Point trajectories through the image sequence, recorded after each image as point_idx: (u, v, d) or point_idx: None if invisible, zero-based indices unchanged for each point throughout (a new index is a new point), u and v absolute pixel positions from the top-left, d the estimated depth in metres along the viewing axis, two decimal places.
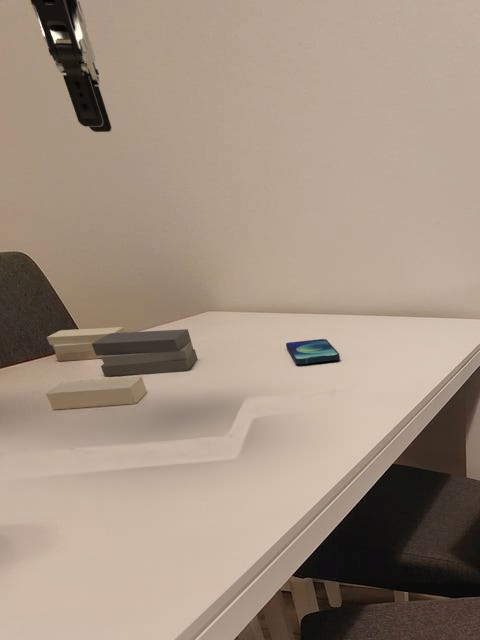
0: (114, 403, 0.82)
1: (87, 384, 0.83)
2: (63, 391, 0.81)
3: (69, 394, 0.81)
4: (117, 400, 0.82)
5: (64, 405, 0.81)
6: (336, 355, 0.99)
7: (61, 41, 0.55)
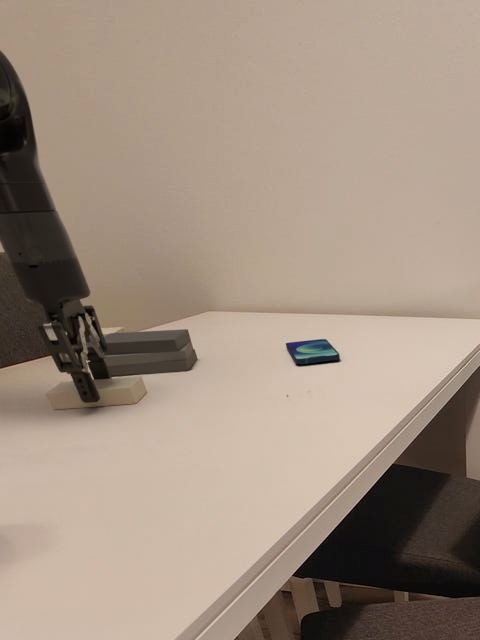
0: (114, 403, 0.82)
1: None
2: (63, 391, 0.81)
3: (69, 394, 0.81)
4: (117, 400, 0.82)
5: (64, 405, 0.81)
6: (336, 355, 0.99)
7: None
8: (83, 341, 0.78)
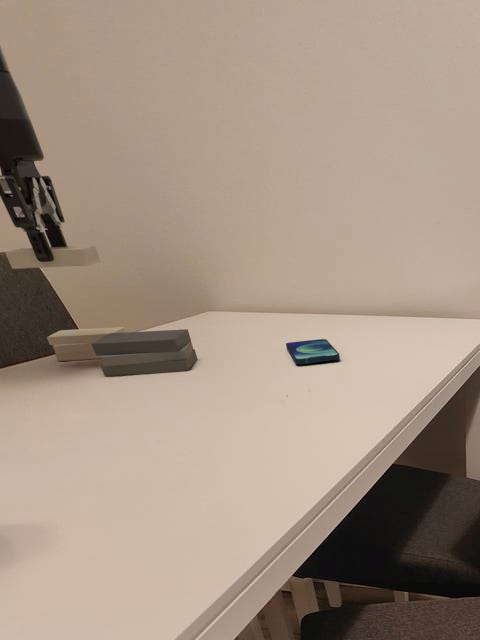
0: (67, 264, 0.91)
1: None
2: (21, 251, 0.89)
3: (26, 253, 0.89)
4: (70, 261, 0.91)
5: (22, 264, 0.90)
6: (336, 355, 0.99)
7: (20, 208, 0.85)
8: (37, 201, 0.86)
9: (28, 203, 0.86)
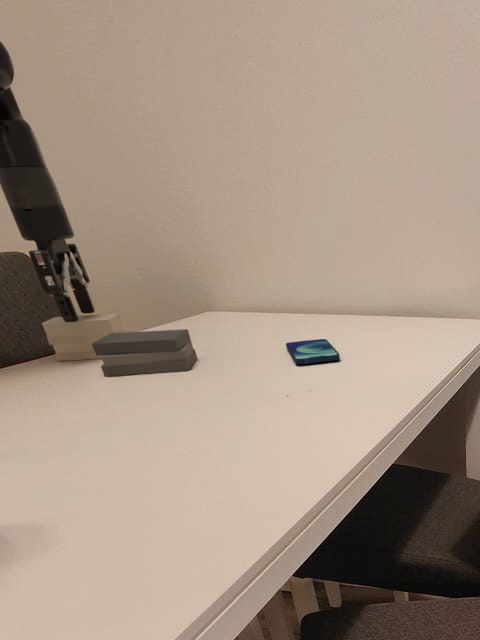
0: (96, 332, 1.03)
1: None
2: (55, 322, 1.01)
3: (60, 324, 1.01)
4: (99, 330, 1.03)
5: (56, 333, 1.02)
6: (336, 355, 0.99)
7: None
8: (68, 273, 0.98)
9: None
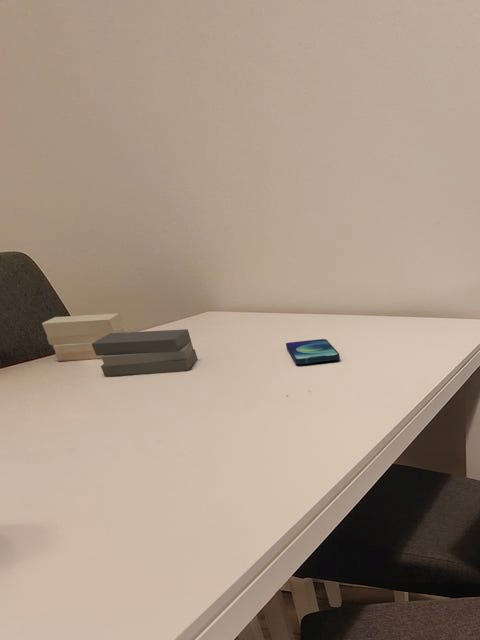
0: (96, 332, 1.03)
1: (75, 318, 1.04)
2: (55, 322, 1.01)
3: (60, 324, 1.01)
4: (99, 330, 1.03)
5: (56, 333, 1.02)
6: (336, 355, 0.99)
7: None
8: None
9: None
